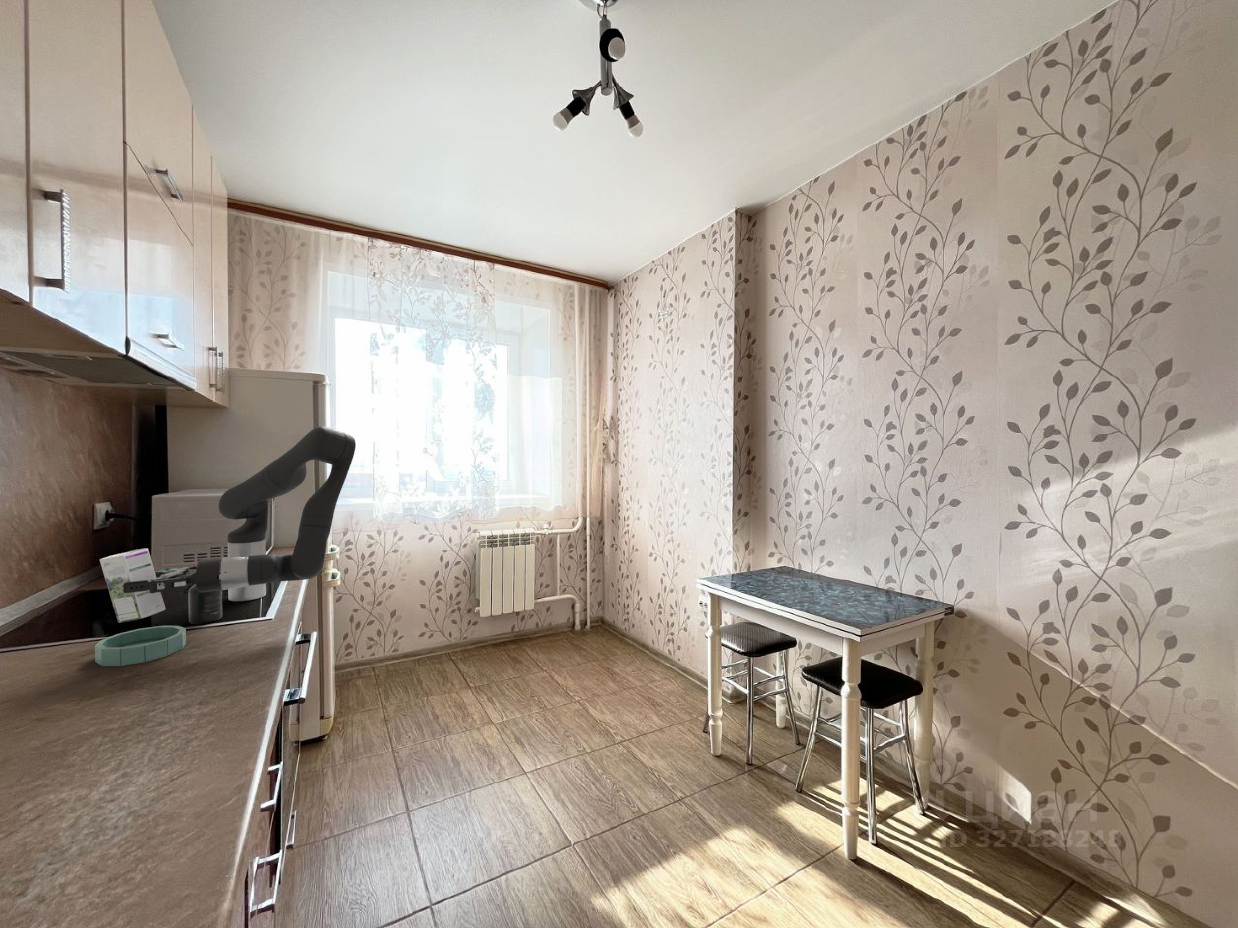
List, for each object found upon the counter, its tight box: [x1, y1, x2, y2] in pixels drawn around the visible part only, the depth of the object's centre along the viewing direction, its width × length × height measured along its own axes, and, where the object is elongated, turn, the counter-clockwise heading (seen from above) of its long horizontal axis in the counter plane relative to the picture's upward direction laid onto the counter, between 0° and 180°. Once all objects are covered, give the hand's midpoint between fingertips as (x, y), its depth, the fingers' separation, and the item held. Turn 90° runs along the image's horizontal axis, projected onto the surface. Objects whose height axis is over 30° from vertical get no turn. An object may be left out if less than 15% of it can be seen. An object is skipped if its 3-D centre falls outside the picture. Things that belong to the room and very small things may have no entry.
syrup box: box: [99, 548, 166, 624], centre depth 109 cm, size 6×6×14 cm
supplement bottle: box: [188, 584, 223, 625], centre depth 131 cm, size 7×7×12 cm
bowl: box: [94, 625, 187, 667], centre depth 110 cm, size 14×14×4 cm
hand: (130, 583), depth 109 cm, fingers closed on syrup box, 8 cm apart
